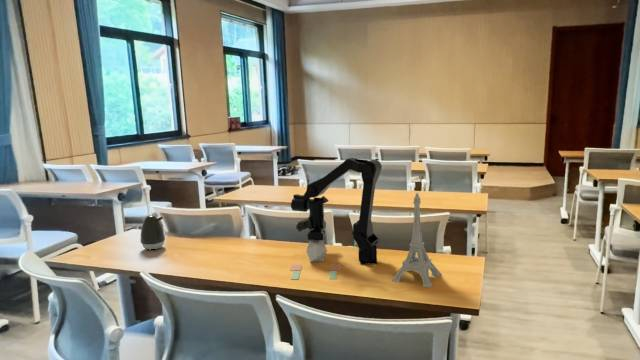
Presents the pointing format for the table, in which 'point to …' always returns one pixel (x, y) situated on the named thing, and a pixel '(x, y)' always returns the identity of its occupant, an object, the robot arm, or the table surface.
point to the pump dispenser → (152, 233)
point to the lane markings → (298, 267)
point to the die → (316, 251)
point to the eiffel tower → (422, 261)
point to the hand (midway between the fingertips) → (317, 249)
